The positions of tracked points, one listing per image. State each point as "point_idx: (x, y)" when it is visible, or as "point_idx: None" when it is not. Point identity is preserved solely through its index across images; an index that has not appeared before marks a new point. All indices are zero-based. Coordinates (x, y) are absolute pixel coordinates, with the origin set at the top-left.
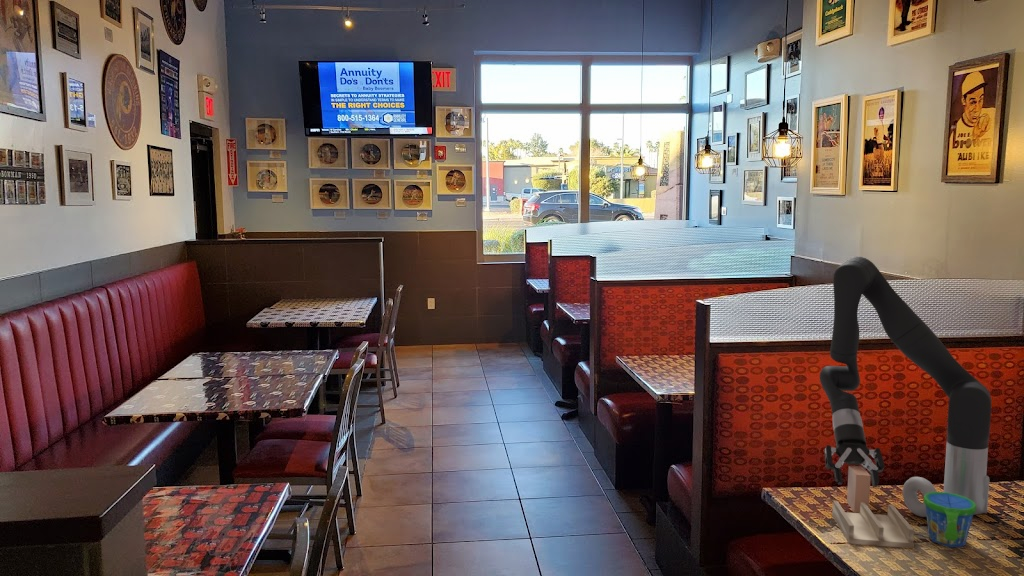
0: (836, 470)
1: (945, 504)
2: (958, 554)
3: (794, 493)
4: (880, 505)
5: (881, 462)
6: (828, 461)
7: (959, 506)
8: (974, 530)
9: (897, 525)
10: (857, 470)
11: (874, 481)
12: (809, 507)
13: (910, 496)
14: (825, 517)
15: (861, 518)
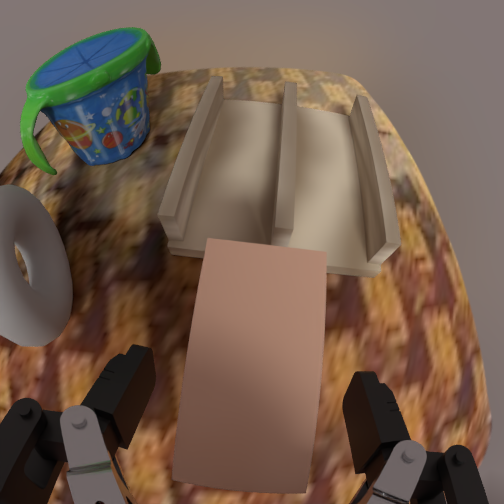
0: (402, 435)
1: (103, 52)
2: None
3: None
4: None
5: (9, 436)
6: (471, 466)
7: (86, 49)
8: None
9: (205, 151)
10: (273, 369)
11: (145, 353)
12: (426, 346)
13: (40, 292)
14: (394, 265)
15: (294, 214)
